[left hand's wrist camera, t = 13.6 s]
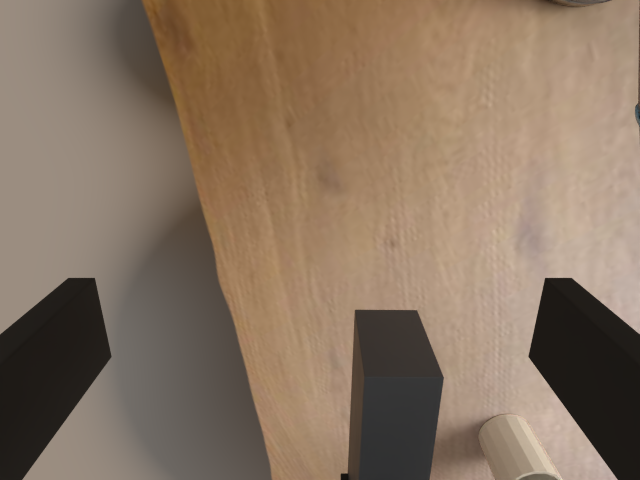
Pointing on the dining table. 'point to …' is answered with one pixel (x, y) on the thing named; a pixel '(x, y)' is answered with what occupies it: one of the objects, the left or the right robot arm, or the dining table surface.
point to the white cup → (515, 450)
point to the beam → (392, 397)
